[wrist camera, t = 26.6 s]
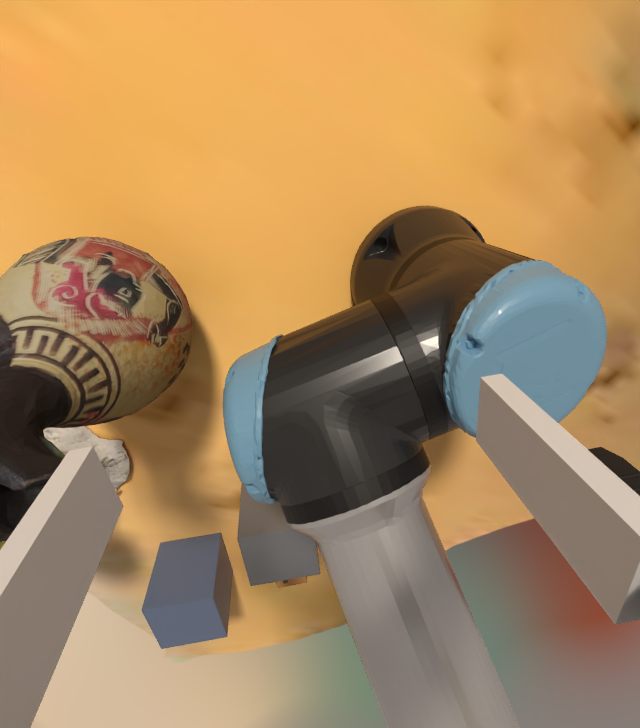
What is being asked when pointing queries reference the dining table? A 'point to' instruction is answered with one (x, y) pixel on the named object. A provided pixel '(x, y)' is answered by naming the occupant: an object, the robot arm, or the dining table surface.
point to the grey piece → (106, 449)
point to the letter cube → (291, 582)
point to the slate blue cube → (189, 591)
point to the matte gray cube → (273, 544)
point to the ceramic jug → (79, 351)
